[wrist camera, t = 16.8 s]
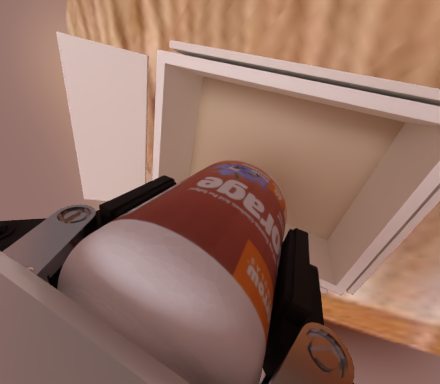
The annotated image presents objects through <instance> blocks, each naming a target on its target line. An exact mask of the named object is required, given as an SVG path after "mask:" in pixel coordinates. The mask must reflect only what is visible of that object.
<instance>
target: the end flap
mask: <svg viewBox="0 0 440 384" xmlns="http://www.w3.org/2000/svg"><path fill="white" fill-rule="evenodd" d="M56 33H57V39H58V45H59V51H60V57H61V63H62V69H63V75H64V81H65V87H66V93H67V99H68V105H69V111H70V117H71V123H72V129H73V135H74V140H75V147H76V153H77V159H78V165H79V171H80V177H81V183H82V189H83V194H84V199H92V200H104V201H110V200H112V199H114V198H116V197H118V196H120V195H122V194H125V193H127V192H129V191H131V190H133V189H135V188H137V187H140V186H142V185H144V184H146V155H147V108H148V60H149V56H147V55H143V54H140V53H136V52H132V51H128V50H124V49H121V48H117V47H113V46H109V45H106V44H102V43H98V42H94V41H90V40H87V39H83V38H79V37H75V36H72V35H68V34H64V33H60V32H56Z"/></svg>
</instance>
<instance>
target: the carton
mask: <svg viewBox="0 0 440 384" xmlns="http://www.w3.org/2000/svg"><path fill="white" fill-rule="evenodd" d="M169 48H171V49H173V50H175V51H177V52H180V53H182V54H184V55H182V54H177V53H172V52H167V51H162V50H157V70H156V96H155V122H154V147H153V173H152V180H155V179H157V178H159V177H161V176H163V175H166V176H168V177H171V178H173V179H174V180H175V182H176V184H178V183H180V182H181V181H183V180H185V179H187V178H188V177H190V176H192V175H194V174H195V173H197V172H199V171H201V170H202V169H204V168H206V167H208V166H210V165H212V164H214V163H216V162H219V161H224V160H241V161H246V162H249V163H252V164H254V165H256V166H258V167H260V168H262V169H263V170H265V171H266V172H267V173H269V174H270V175H271V176H272V177H273V178H274V179H275V181H276V182H277V183H278V185H279V186H280V188H281V190H282V192H283V194H284V197H285V200H286V205H287V218H286V226H285V232H284V238H283V241H284V239H285V237H286V235H287V233H288V231H289V230H290V229H292V230H294V229H295V228H298V229H300V230H303V231H305V232H308V239H309V258H310V264H312V265H314V266H316V267H317V268H318V273H319V283H320V291H321V292H323V293H326V292H327V291H328V290H330V291H332V292H334V293H337V294H339V295H342V294H343V293H344V291H345V290H347V292H348V293H350V294H352V295H353V294H354V293H355V292H356V291H357V290H358V289H359V288H360V287H361V285H362V284H363V283H364V282H365V281H366V280H367V279H368V278H369V277H370V276H371V275H372V274H373V273H374V271H375V270H376V269H377V268H378V267H379V266H380V265H381V264H382V263H383V262H384V261H385V260H386V259H387V257H388V256H389V255H390V254H391V253H392V252H393V251H394V250H395V249H396V248H397V247H398V246H399V245H400V244H401V242H402V241H403V240H404V239H405V238H406V237H407V236H408V235H409V234H410V233H411V232H412V231H413V230H414V228H415V227H416V226H417V225H418V224H419V223H420V222H421V221H422V220H423V219H424V218H425V217H426V216H427V214H428V213H429V212H430V211H431V210H432V209H433V208H434V207H435V206H436V205H437V204H438V203H439V202H440V89H437V88H432V87H426V86H421V85H415V84H410V83H404V82H399V81H393V80H388V79H382V78H377V77H371V76H366V75H360V74H355V73H349V72H344V71H338V70H333V69H327V68H322V67H316V66H311V65H305V64H300V63H294V62H289V61H283V60H278V59H272V58H267V57H261V56H256V55H250V54H245V53H239V52H234V51H228V50H223V49H217V48H212V47H206V46H201V45H195V44H190V43H184V42H179V41H173V40H170V46H169Z"/></svg>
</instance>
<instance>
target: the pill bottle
mask: <svg viewBox="0 0 440 384" xmlns="http://www.w3.org/2000/svg"><path fill="white" fill-rule="evenodd" d="M286 218H287V205H286V200H285V197H284V194H283V192H282V190H281V188H280V186H279V185H278V183H277V182H276V181H275V179H274V178H273V177H272V176H271V175H270V174H269V173H267V172H266V171H265V170H263V169H262V168H260V167H258V166H256V165H254V164H252V163H249V162H246V161H241V160H224V161H219V162H216V163H214V164H212V165H210V166H208V167H206V168H204V169H202V170H201V171H199V172H197V173H195V174H194V175H192V176H190V177H188V178H187V179H185V180H183V181H181V182H180V183H178V184H176V185H174V186H172V187H171V188H169V189H168V190H166V191H164V192H162V193H160V194H159V195H157V196H155V197H153V198H152V199H150V200H148V201H146V202H145V203H143V204H141V205H139V206H138V207H136V208H134V209H132V210H131V211H129V212H127V213H125V214H123V215H122V216H120V217H118V218H116V219H114V220H113V221H111V222H109V223H108V224H106V225H104V226H103V227H101V228H100V229H98V230H96V231H95V232H93V233H91V234H90V235H88V236H87V237H85V238H84V239H83V240H82V241H81V242H79V243H78V244H77V245H76V247H75V248H74V249H73V250H72V251H71V253H70V254H69V255H68V257H67V259H66V261H65V262H64V264H63V266H62V269H61V272H60V275H59V279H58V287H57V290H59V291H60V292H61V293H63V294H64V295H66V296H67V297H69V298H70V299H71V300H73V301H74V302H76V303H77V304H79V305H80V306H81V307H83V308H84V309H86V310H87V311H89V312H90V313H91V314H93V315H94V316H96V317H97V318H98V319H100V320H101V321H103V322H104V323H106V324H107V325H108V326H110V327H111V328H113V329H114V330H116V331H117V332H118V333H120V334H121V335H123V336H124V337H125V338H127V339H128V340H130V341H131V342H132V343H134V344H135V345H137V346H138V347H140V348H141V349H142V350H144V351H145V352H147V353H148V354H149V355H151V356H152V357H154V358H155V359H156V360H158V361H159V362H161V363H162V364H163V365H165V366H166V367H168V368H169V369H170V370H172V371H173V372H175V373H176V374H178V375H179V376H180V377H182V378H183V379H185V380H186V381H187V382H189V383H190V384H259V382H260V377H261V372H262V367H263V361H264V357H265V352H266V345H267V339H268V332H269V326H270V320H271V313H272V307H273V300H274V293H275V287H276V282H277V274H278V268H279V262H280V256H281V250H282V244H283V238H284V232H285V226H286Z"/></svg>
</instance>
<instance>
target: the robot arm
mask: <svg viewBox="0 0 440 384" xmlns="http://www.w3.org/2000/svg"><path fill="white" fill-rule="evenodd" d="M174 185H176V182H175V180H174V179H173V178H171V177H168V176H166V175H163V176H161V177H159V178H157V179H155V180H152V181H150V182H148V183H146V184H144V185H142V186H140V187H137V188H135V189H133V190H131V191H129V192H127V193H125V194H122V195H120V196H118V197H116V198H114V199H112V200H110V201H107V202H105V203H103V204H101V205H100V206H99V208H100V210H98V211H95V209H94V208H93V207H91V206H87V205H72V206H67V207H65V208H62V209H60V210H58V211H57V212H55V213H54V214H52V215H51V216H50V217H48V218H47V219H30V220H12V221H0V384H190V383H189V382H187V381H186V380H185V379H183V378H182V377H180V376H179V375H178V374H176V373H175V372H173V371H172V370H170V369H169V368H168V367H166V366H165V365H163V364H162V363H161V362H159V361H158V360H156V359H155V358H154V357H152V356H151V355H149V354H148V353H147V352H145V351H144V350H142V349H141V348H140V347H138V346H137V345H135V344H134V343H132V342H131V341H130V340H128V339H127V338H125V337H124V336H123V335H121V334H120V333H118V332H117V331H116V330H114V329H113V328H111V327H110V326H108V325H107V324H106V323H104V322H103V321H101V320H100V319H98V318H97V317H96V316H94V315H93V314H91V313H90V312H89V311H87V310H86V309H84V308H83V307H81V306H80V305H79V304H77V303H76V302H74V301H73V300H71V299H70V298H69V297H67V296H66V295H64V294H63V293H61V292H60V291H59V290H57V287H58V279H59V275H60V272H61V269H62V266H63V264H64V262H65V261H66V259H67V257H68V255H69V254H70V253H71V251H72V250H73V249H74V248H75V247H76V245H77V244H78V243H79V242H81V241H82V240H83V239H84V238H85V237H87V236H88V235H90V234H91V233H93V232H95V231H96V230H98V229H100V228H101V227H103V226H104V225H106V224H108V223H109V222H111V221H113V220H114V219H116V218H118V217H120V216H122V215H123V214H125V213H127V212H129V211H131V210H132V209H134V208H136V207H138V206H139V205H141V204H143V203H145V202H146V201H148V200H150V199H152V198H153V197H155V196H157V195H159V194H160V193H162V192H164V191H166V190H168V189H169V188H171V187H172V186H174ZM263 370H264V372H265V375H264V377H263V378H262V380H261V381H260V383H259V384H354V383H353V379H354V366H353V362H352V358H351V356H350V354H349V352H348V350H347V348H346V347H345V345H344V344H343V342H342V341H341V340H340V339H339V338H338V336H337V335H335V333H334V332H332V331H331V330H330V329H328V328H327V327H325V326H324V322H323V312H322V302H321V292H320V283H319V273H318V268H317V267H316V266H314V265H312V264H310V258H309V239H308V232H305V231H303V230H300V229H298V228H295V229H294V230H292V229H290V230H289V231H288V233H287V235H286V237H285V239H284V241H283V244H282V250H281V256H280V262H279V268H278V274H277V282H276V287H275V293H274V300H273V307H272V313H271V320H270V326H269V332H268V339H267V345H266V352H265V357H264V361H263Z"/></svg>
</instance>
